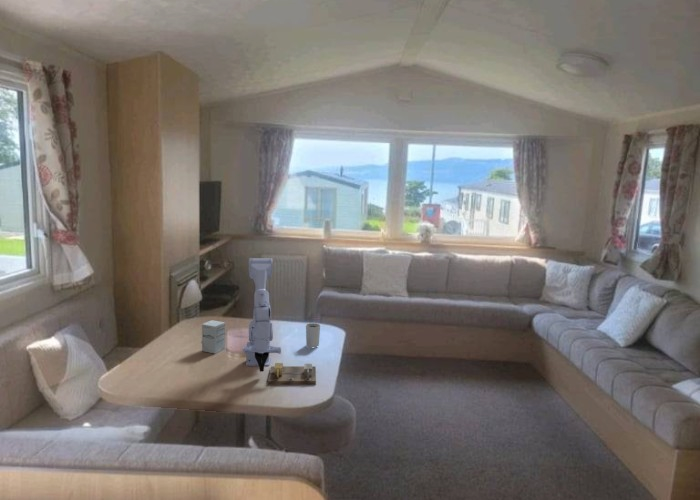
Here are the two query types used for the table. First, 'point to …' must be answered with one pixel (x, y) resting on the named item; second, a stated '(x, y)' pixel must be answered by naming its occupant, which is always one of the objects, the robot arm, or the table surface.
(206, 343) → the supplement box
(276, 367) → the brass leg
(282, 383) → the gauge board
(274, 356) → the table surface
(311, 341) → the drinking glass
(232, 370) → the table surface
